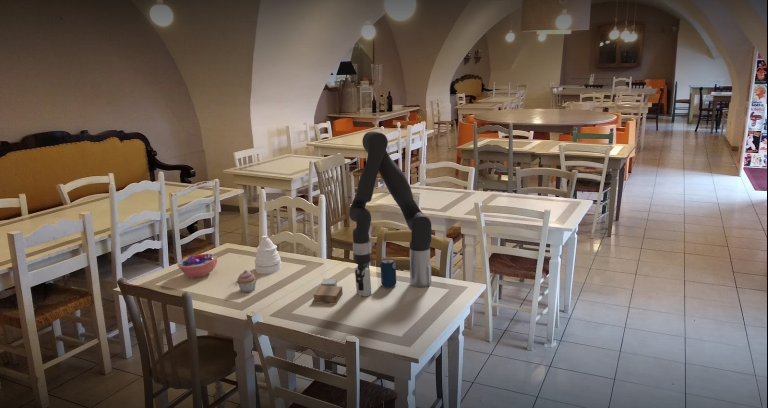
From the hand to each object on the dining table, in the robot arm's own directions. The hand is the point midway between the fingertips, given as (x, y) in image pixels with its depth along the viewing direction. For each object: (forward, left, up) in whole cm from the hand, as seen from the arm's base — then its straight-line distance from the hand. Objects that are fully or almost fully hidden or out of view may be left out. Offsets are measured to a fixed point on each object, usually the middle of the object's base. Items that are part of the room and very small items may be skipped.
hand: (363, 286), depth 246 cm
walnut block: (+14, +7, -4) cm, 16 cm away
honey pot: (+56, -23, -4) cm, 61 cm away
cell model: (+87, -10, -4) cm, 88 cm away
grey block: (+17, -3, -4) cm, 18 cm away
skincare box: (0, 0, -3) cm, 3 cm away
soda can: (-9, -11, -4) cm, 15 cm away
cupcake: (+54, +4, -4) cm, 54 cm away
